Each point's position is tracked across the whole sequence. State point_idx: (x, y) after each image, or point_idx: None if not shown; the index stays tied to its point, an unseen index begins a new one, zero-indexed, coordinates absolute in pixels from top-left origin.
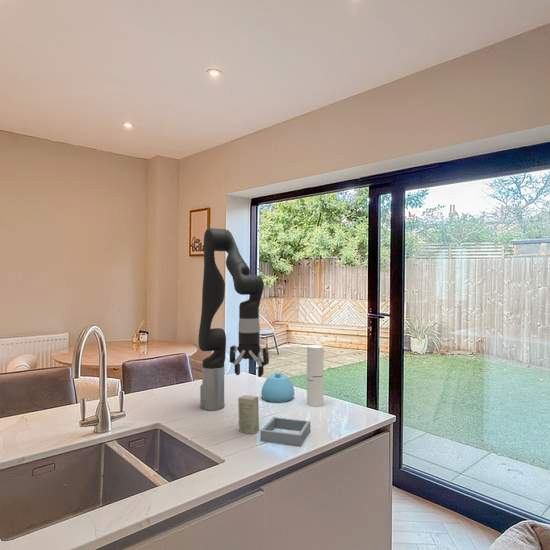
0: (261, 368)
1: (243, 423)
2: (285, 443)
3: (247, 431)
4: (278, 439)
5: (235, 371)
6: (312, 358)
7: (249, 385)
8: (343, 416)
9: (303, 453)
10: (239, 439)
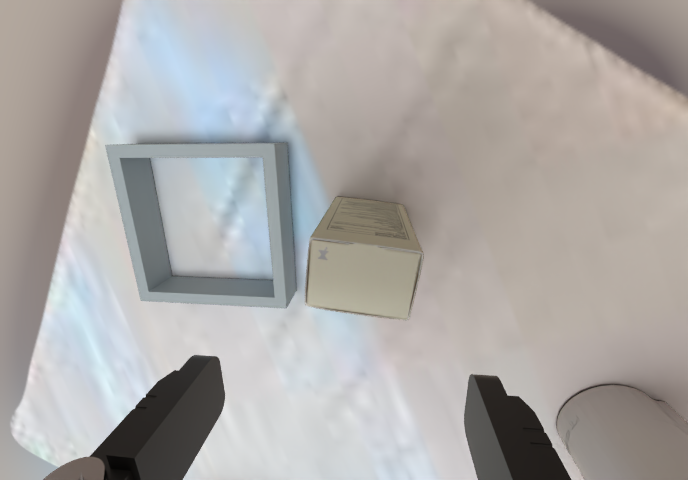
0: (114, 443)
1: (381, 209)
2: (188, 143)
3: (363, 200)
4: (208, 143)
5: (522, 416)
6: None
7: None
8: None
9: (102, 85)
10: (372, 129)
